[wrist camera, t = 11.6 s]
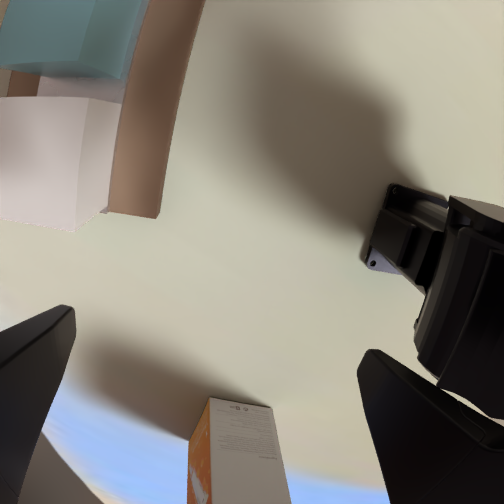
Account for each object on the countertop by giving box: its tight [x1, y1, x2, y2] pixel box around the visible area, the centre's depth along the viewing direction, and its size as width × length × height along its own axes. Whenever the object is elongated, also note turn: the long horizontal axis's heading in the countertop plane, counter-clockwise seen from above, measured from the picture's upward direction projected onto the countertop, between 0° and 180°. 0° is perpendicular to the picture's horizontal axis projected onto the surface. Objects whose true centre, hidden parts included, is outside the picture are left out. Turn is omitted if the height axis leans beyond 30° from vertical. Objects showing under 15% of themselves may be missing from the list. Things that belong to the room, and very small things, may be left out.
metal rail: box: [37, 0, 151, 214], centre depth 14 cm, size 6×22×1 cm, turn 168°
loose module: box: [0, 0, 142, 79], centre depth 11 cm, size 5×6×6 cm
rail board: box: [7, 0, 205, 219], centre depth 15 cm, size 12×22×2 cm, turn 168°
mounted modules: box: [0, 96, 122, 232], centre depth 11 cm, size 6×21×5 cm, turn 168°
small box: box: [187, 398, 292, 504], centre depth 23 cm, size 8×6×13 cm
